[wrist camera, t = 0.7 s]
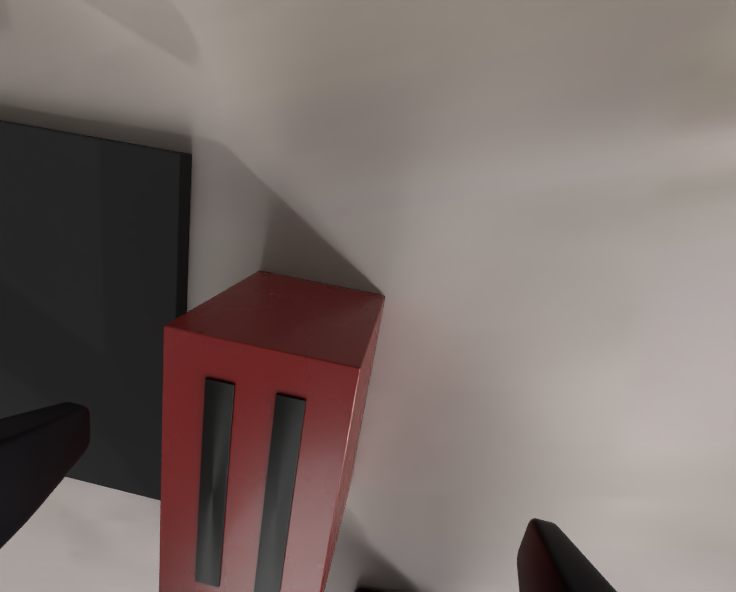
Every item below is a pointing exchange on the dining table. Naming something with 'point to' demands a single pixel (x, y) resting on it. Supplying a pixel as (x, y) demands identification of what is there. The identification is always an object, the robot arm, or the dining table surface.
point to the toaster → (261, 433)
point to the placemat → (92, 289)
